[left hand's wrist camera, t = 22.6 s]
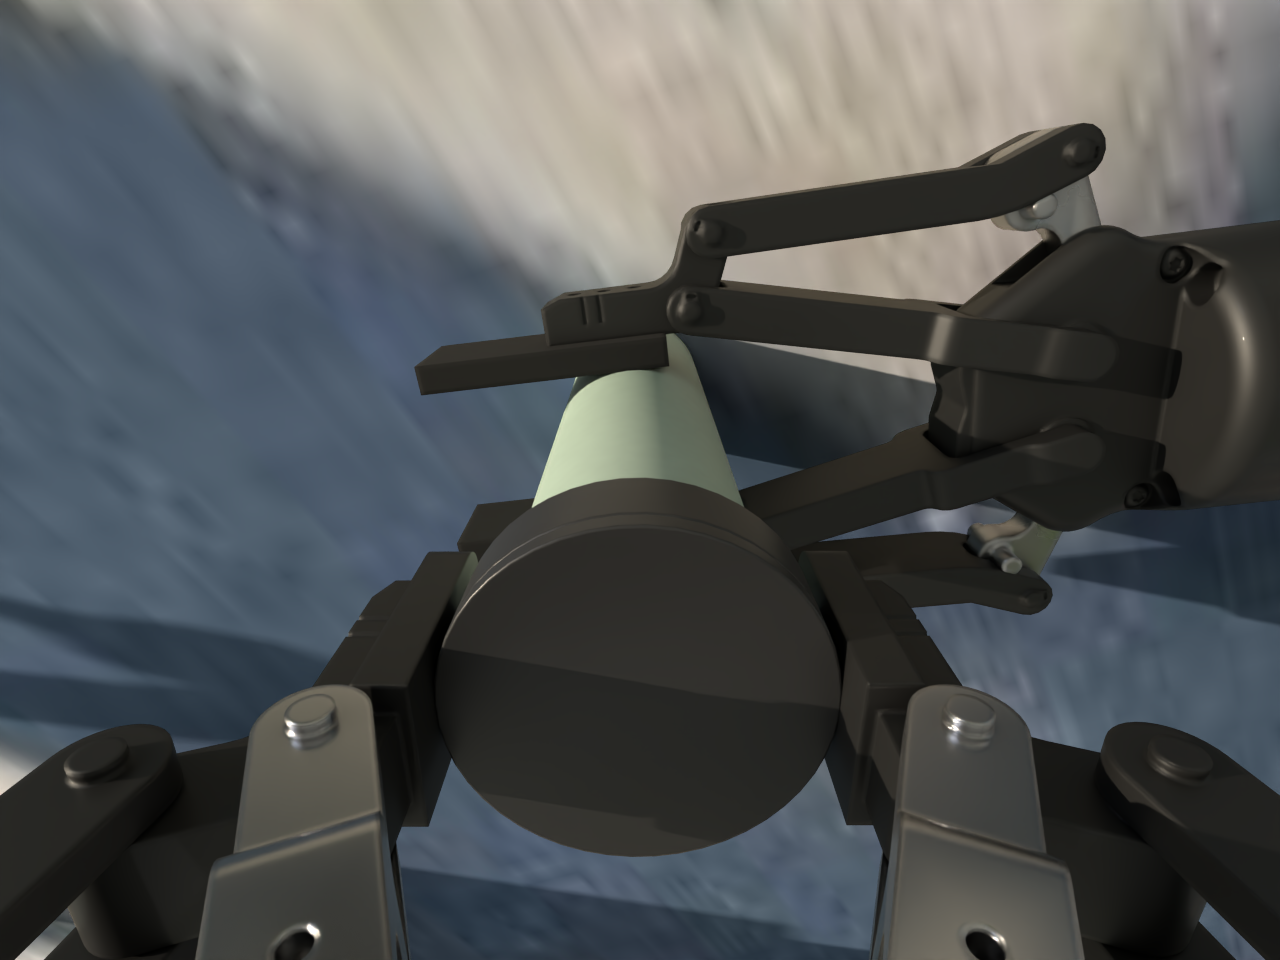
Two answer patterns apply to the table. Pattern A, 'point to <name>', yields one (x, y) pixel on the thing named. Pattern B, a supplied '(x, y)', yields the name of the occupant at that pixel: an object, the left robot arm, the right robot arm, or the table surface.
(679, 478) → the pale green cylinder
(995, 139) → the table surface
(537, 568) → the lid
